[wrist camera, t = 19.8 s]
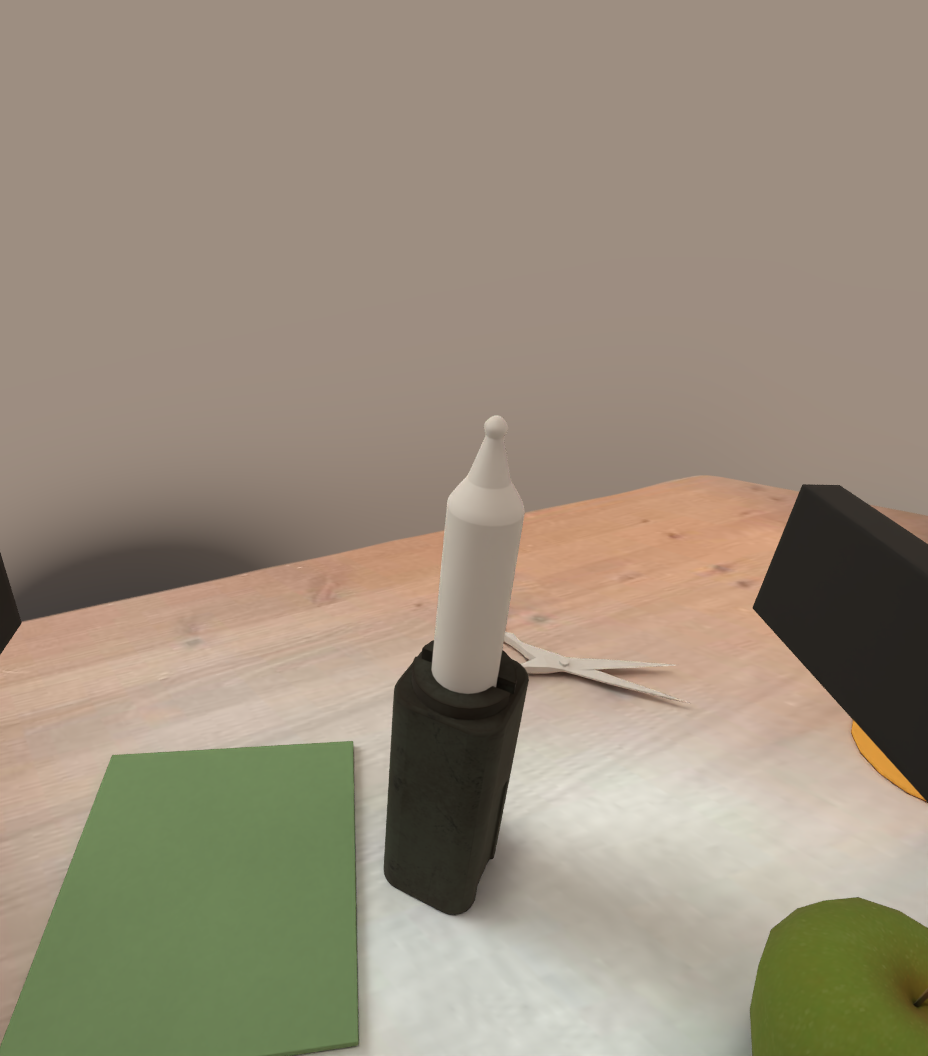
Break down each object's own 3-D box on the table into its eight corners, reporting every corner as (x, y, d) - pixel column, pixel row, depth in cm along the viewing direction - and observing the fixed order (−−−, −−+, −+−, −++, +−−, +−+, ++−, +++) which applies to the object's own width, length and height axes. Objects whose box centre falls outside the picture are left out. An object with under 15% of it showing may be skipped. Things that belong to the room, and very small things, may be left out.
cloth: (-17, 1102, 24) (-20, 1097, 24) (113, 759, 38) (111, 754, 37) (358, 1046, 27) (358, 1041, 27) (353, 745, 40) (353, 740, 40)
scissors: (433, 601, 53) (675, 635, 52) (433, 609, 53) (673, 642, 52) (410, 691, 44) (704, 734, 43) (410, 700, 44) (701, 742, 43)
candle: (420, 802, 37) (460, 384, 25) (501, 840, 36) (586, 413, 23) (375, 877, 33) (397, 420, 21) (464, 923, 31) (544, 458, 19)
